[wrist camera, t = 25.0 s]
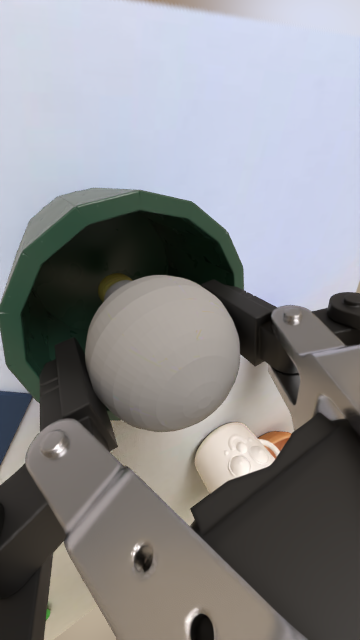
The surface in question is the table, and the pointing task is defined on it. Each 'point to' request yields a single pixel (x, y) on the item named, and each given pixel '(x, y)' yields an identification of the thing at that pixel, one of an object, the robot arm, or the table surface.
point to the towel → (11, 417)
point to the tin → (100, 266)
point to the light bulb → (161, 351)
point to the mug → (231, 455)
